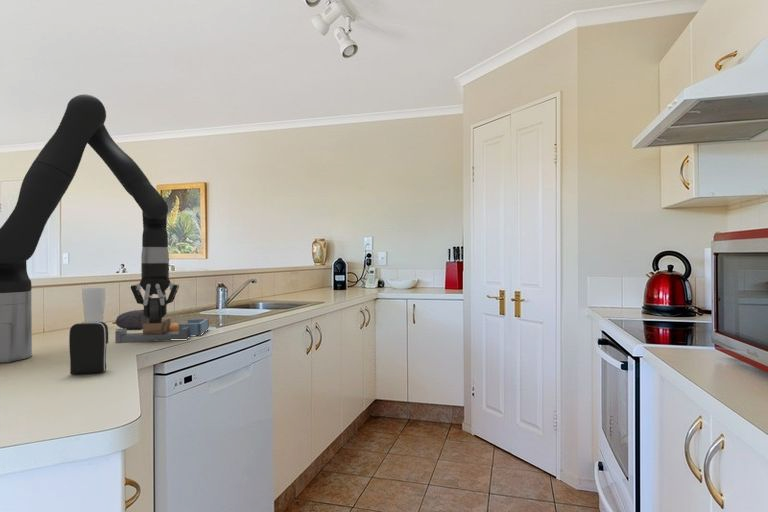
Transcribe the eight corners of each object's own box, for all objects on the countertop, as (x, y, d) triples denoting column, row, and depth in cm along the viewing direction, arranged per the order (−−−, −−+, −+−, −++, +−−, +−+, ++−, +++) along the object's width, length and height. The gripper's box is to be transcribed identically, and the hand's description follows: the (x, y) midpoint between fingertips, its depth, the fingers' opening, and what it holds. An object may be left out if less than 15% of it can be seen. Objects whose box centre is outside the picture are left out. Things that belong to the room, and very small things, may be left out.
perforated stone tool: (112, 330, 149) (112, 311, 149) (119, 328, 154) (119, 309, 154) (157, 329, 151) (157, 310, 151) (163, 327, 156) (163, 308, 156)
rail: (185, 340, 131) (185, 329, 131) (115, 342, 128) (115, 331, 128) (189, 337, 136) (189, 326, 136) (121, 339, 133) (121, 328, 133)
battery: (110, 369, 99) (110, 320, 99) (103, 373, 95) (103, 322, 95) (76, 370, 97) (76, 321, 97) (68, 375, 94) (68, 323, 94)
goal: (200, 335, 139) (200, 323, 138) (178, 336, 137) (178, 324, 137) (208, 329, 149) (208, 318, 149) (188, 330, 148) (188, 319, 148)
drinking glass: (93, 331, 147) (93, 288, 147) (77, 330, 148) (77, 287, 148) (110, 328, 154) (109, 286, 154) (94, 327, 155) (94, 286, 155)
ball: (172, 337, 141) (181, 329, 141) (164, 329, 140) (173, 321, 141) (176, 335, 144) (184, 327, 145) (168, 327, 144) (176, 320, 144)
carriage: (160, 340, 130) (160, 299, 129) (142, 341, 129) (142, 299, 129) (176, 331, 145) (176, 294, 145) (161, 331, 144) (160, 294, 144)
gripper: (125, 262, 127) (125, 319, 127) (175, 262, 130) (175, 318, 130) (135, 261, 134) (135, 316, 135) (183, 261, 137) (183, 315, 137)
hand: (155, 317), depth 132 cm, fingers closed on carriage, 3 cm apart
